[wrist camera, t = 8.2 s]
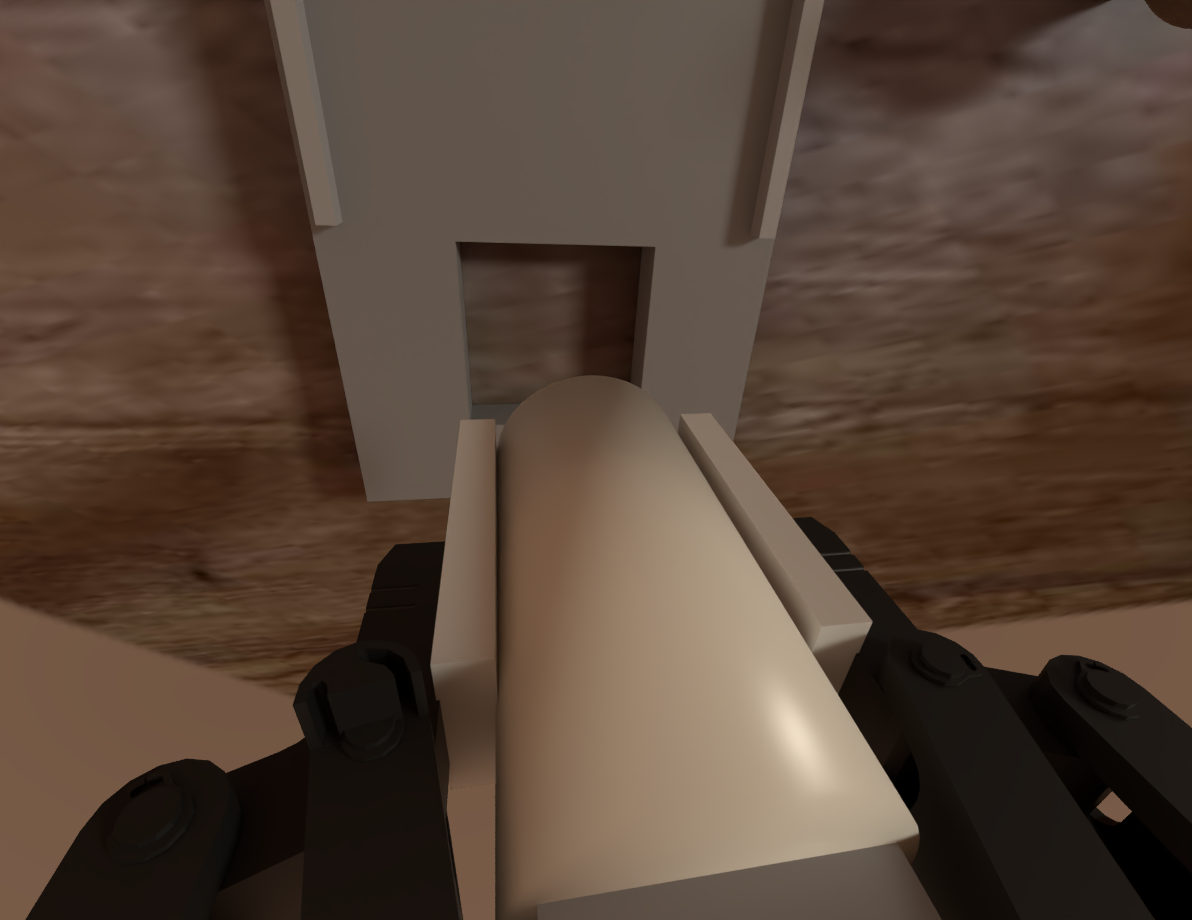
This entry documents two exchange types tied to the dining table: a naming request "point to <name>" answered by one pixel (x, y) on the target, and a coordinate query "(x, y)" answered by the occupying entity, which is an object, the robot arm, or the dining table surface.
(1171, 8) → the industrial component
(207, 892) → the robot arm
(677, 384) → the housing plate
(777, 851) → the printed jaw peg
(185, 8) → the dining table surface
